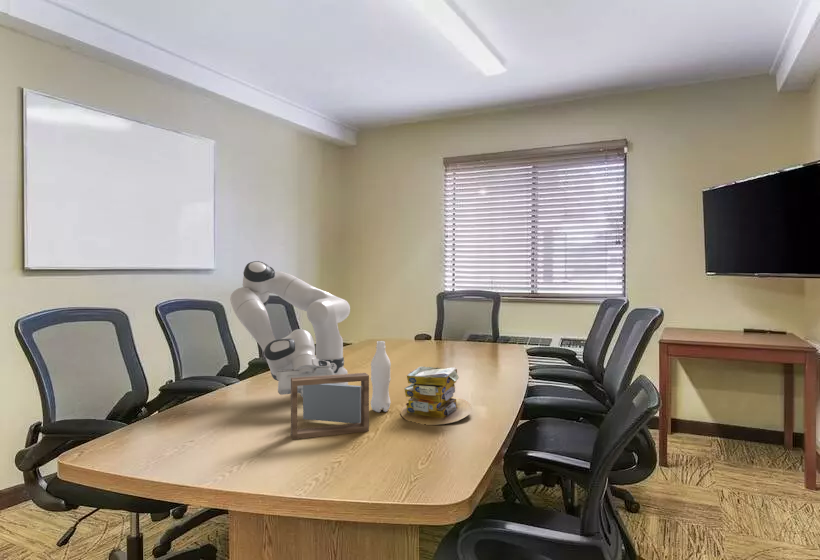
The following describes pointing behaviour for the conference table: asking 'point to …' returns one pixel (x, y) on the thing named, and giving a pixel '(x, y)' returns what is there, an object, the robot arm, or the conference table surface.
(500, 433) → the conference table surface
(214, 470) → the conference table surface
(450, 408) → the yellow stacked packages
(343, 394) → the door
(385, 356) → the water bottle
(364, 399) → the brown wooden frame
